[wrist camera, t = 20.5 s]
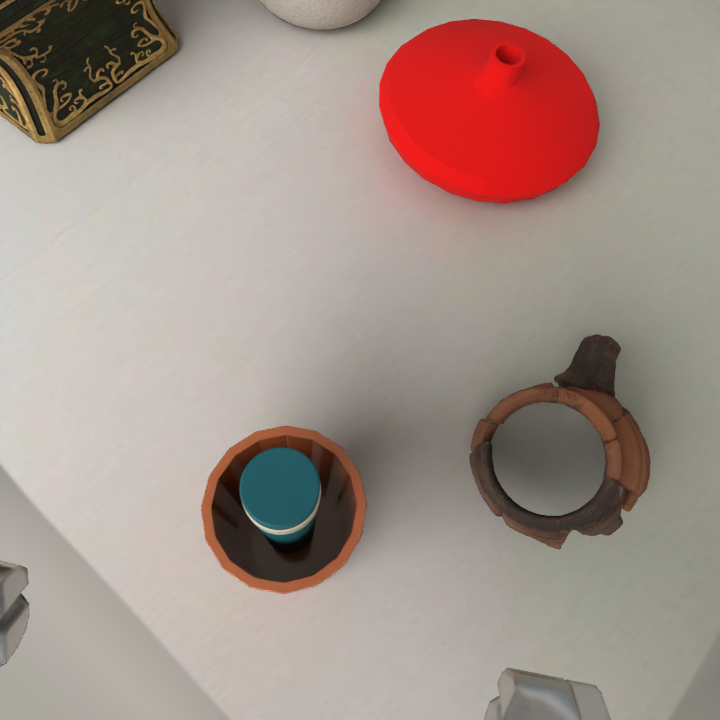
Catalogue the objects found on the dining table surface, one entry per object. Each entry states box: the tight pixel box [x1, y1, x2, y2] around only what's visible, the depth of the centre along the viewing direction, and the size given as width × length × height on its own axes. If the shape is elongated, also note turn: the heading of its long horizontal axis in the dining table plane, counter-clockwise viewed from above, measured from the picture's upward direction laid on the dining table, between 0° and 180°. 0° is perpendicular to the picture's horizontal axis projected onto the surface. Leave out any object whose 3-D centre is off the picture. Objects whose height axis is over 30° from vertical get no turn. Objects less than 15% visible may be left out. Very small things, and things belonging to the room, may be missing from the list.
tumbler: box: [201, 426, 366, 594], centre depth 28 cm, size 6×6×10 cm
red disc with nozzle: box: [379, 19, 600, 203], centre depth 41 cm, size 16×16×7 cm
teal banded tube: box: [240, 447, 321, 554], centre depth 26 cm, size 3×3×14 cm
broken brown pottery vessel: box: [470, 335, 650, 549], centre depth 33 cm, size 12×9×8 cm
